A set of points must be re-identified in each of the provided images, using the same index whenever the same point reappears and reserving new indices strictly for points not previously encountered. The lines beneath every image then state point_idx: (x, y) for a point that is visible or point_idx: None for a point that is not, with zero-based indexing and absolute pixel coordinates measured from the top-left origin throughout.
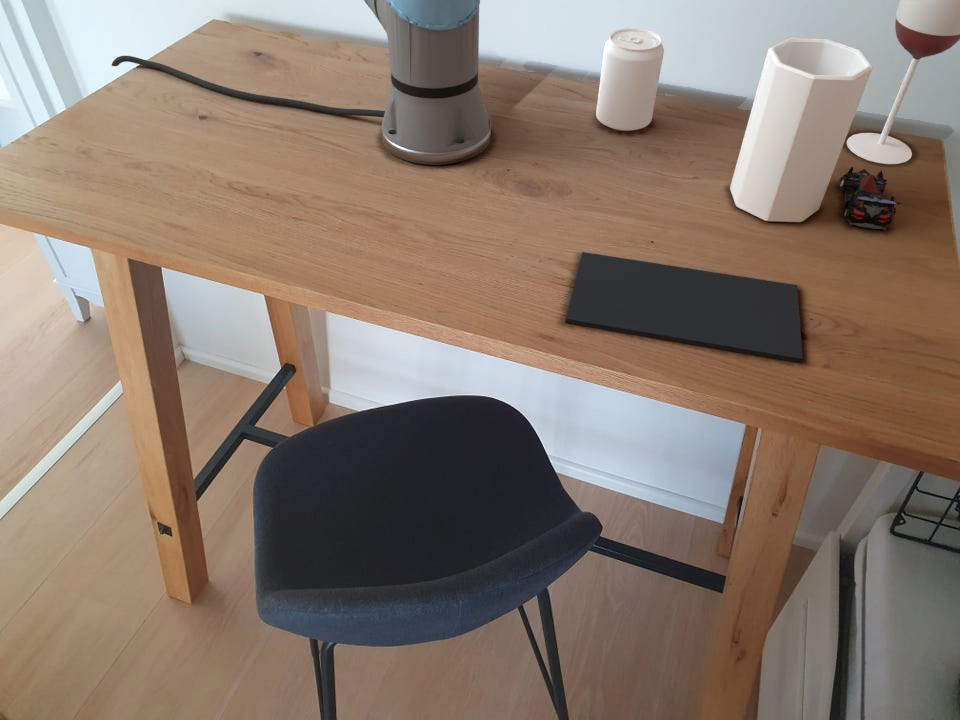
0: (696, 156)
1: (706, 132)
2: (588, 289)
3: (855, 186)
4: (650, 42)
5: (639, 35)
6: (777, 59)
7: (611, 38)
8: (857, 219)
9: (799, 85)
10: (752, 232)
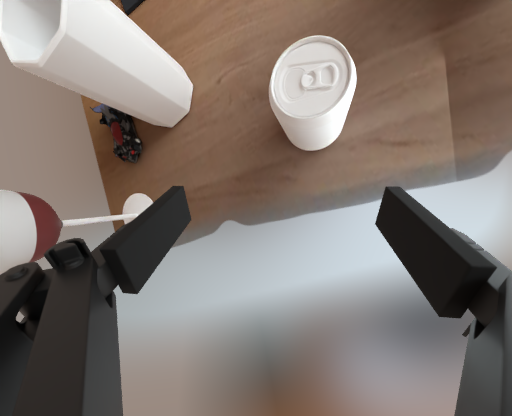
0: (231, 112)
1: (240, 156)
2: None
3: (125, 131)
4: (289, 94)
5: (312, 100)
6: None
7: (347, 64)
8: None
9: None
10: (164, 48)
